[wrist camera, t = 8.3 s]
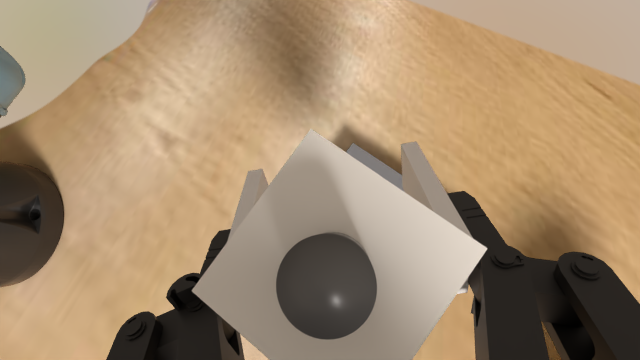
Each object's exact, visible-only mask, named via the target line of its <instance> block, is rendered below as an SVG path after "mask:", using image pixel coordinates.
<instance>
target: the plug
mask: <svg viewBox="0 0 640 360" xmlns="http://www.w3.org/2000/svg"><path fill="white" fill-rule="evenodd" d="M487 249H488V248H486V247H485V246H483V245H482V244H480V243H479V242H477V241H476V240H474V239H473V238H471V237H470V236H468V235H467V234H465V233H464V232H463V231H461V230H460V229H458V228H457V227H455V226H454V225H452V224H451V223H449V222H448V221H446V220H445V219H443V218H442V217H440V216H439V215H437V214H436V213H435V212H433V211H432V210H430V209H429V208H427V207H426V206H424V205H423V204H421V203H420V202H418V201H417V200H415V199H414V198H412V197H411V196H409V195H408V194H407V193H405V192H404V191H402V190H401V189H399V188H398V187H396V186H395V185H393V184H392V183H390V182H389V181H387V180H386V179H384V178H383V177H381V176H380V175H379V174H377V173H376V172H374V171H373V170H371V169H370V168H368V167H367V166H365V165H364V164H362V163H361V162H359V161H358V160H356V159H355V158H353V157H352V156H351V155H349V154H348V153H346V152H345V151H343V150H342V149H340V148H339V147H337V146H336V145H334V144H333V143H331V142H330V141H328V140H327V139H326V138H324V137H323V136H321V135H320V134H318V133H317V132H315V131H314V130H312V129H310V131H309V132H308V133H307V135H306V136H305V137H304V139H303V140H302V141H301V143H300V144H299V146H298V147H297V148H296V150H295V151H294V152H293V154H292V155H291V156H290V158H289V159H288V160H287V162H286V163H285V165H284V166H283V167H282V169H281V170H280V171H279V173H278V174H277V175H276V177H275V178H274V179H273V181H272V182H271V184H270V185H269V186H268V188H267V189H266V190H265V192H264V193H263V194H262V196H261V197H260V198H259V200H258V201H257V203H256V204H255V205H254V207H253V208H252V209H251V211H250V212H249V213H248V215H247V216H246V217H245V219H244V220H243V222H242V223H241V224H240V226H239V227H238V228H237V230H236V231H235V232H234V234H233V235H232V236H231V238H230V239H229V241H228V242H227V243H226V245H225V246H224V247H223V249H222V250H221V251H220V253H219V254H218V255H217V257H216V258H215V260H214V261H213V262H212V264H211V265H210V266H209V268H208V269H207V270H206V272H205V273H204V274H203V276H202V277H201V279H200V280H199V281H198V283H197V284H196V285H195V287H194V288H193V289H192V292H193V293H194V294H195V295H197V296H198V297H199V298H200V299H201V300H202V301H203V302H205V303H206V304H207V305H208V306H209V307H210V308H211V309H213V310H214V311H215V312H216V313H217V314H218V315H219V316H221V317H222V318H223V319H224V320H225V321H226V322H227V323H229V324H230V325H231V326H232V327H233V328H234V329H235V330H237V331H238V332H239V333H240V334H241V335H242V336H243V337H245V338H246V339H247V340H248V341H249V342H250V343H251V344H252V345H254V346H255V347H256V348H257V349H258V350H259V351H260V352H262V353H263V354H264V355H265V356H266V357H267V358H268V359H270V360H412V359H413V357H414V356H415V355H416V353H417V352H418V350H419V349H420V347H421V346H422V344H423V343H424V341H425V340H426V338H427V337H428V335H429V334H430V332H431V331H432V330H433V328H434V327H435V325H436V324H437V322H438V321H439V319H440V318H441V316H442V315H443V313H444V312H445V310H446V309H447V307H448V306H449V305H450V303H451V302H452V300H453V299H454V297H455V296H456V294H457V293H458V291H459V290H460V288H461V287H462V285H463V284H464V282H465V281H466V280H467V278H468V277H469V275H470V274H471V272H472V271H473V269H474V268H475V266H476V265H477V263H478V262H479V260H480V259H481V258H482V256H483V255H484V253H485V252H486V250H487Z"/></svg>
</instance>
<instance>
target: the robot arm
mask: <svg viewBox="0 0 640 360" xmlns="http://www.w3.org/2000/svg"><path fill="white" fill-rule="evenodd" d="M24 84H25V74H24V72H23V70H22V68H21V66H20V65H19V64H18V63H17V61H15V59H14V58H13V57H12V56H11V55H10V54H9V53H8V52H6V51H5V50H4V49H3V48H2V47H1V46H0V117H1V116H5V115H6V114H7V112H8V111H7V108H8V106H9V105H10V104H11V103H12V101H13V100H14V99H15V97H16V96H17V95H18V94H19V92H20V91H21V90H22V88H23V87H24ZM401 160H402V184H403V190H404V192H405V193H407V194H408V195H409V196H411V197H412V198H414V199H415V200H417V201H418V202H420V203H421V204H423V205H424V206H426V207H427V208H429V209H430V210H432V211H433V212H435V213H436V214H437V215H439V216H440V217H442V218H443V219H445V220H446V221H448V222H449V223H451V224H452V225H454V226H455V227H457V228H458V229H460V230H461V231H463V232H464V233H465V234H467V235H468V236H470V237H471V238H473V239H474V240H476V241H477V242H479V243H480V244H482V245H483V246H485V247H486V248H488V249H487V250H486V252H485V253H484V255H483V256H482V258H481V259H480V260H479V262H478V263H477V265H476V266H475V268H474V269H473V271H472V272H471V274H470V275H469V277H468V278H467V280H466V281H465V282H464V284H463V285H462V287H461V288H460V290H459V291H458V293H457V294H459V293H467V291H468V285H470V287H471V289H472V291H473V293H474V299H473V304H472V310H471V313H472V314H474V333H475V354H476V360H549V356H548V352H547V347H546V343H545V338H544V333H543V329H542V324H541V321H543V323H544V325H545V327H546V329H547V331H548V333H549V335H550V337H551V339H552V341H553V343H554V345H555V347H556V349H557V351H558V353H559V355H560V357H561V359H562V360H640V304H639V303H638V301H637V300H636V299H635V298H634V296H633V295H632V294H631V293H630V291H629V290H628V289H627V288H626V286H625V285H624V284H623V283H622V281H621V280H620V279H619V278H618V276H617V275H616V274H615V273H614V271H613V270H612V269H611V268H610V267H609V266H608V265H607V264H606V263H605V262H604V261H602V260H600V259H598V258H596V257H594V256H592V255H589V254H586V253H581V252H569V253H565V254H563V255H562V256H561V257H559V260H558V261H551V260H542V259H534V258H529V257H526V256H524V255H523V254H522V253H521V252H520V251H518V250H516V249H515V248H513V247H511V246H508V245H507V244H506V243H505V242H504V240H503V239H502V237H501V236H500V234H499V233H498V231H497V230H496V228H495V227H494V226H493V224H492V223H491V221H490V220H489V218H488V217H487V216H486V214H485V213H484V211H483V210H482V209H481V207H480V205H479V204H478V202H477V201H476V200H475V198H474V197H472V196H471V195H469V194H468V193H466V192H465V191H461V192H455V193H448V194H447V193H446V191H445V190H444V188H443V186H442V184H441V183H440V181H439V179H438V178H437V176H436V174H435V172H434V171H433V169H432V167H431V166H430V164H429V162H428V160H427V159H426V157H425V155H424V154H423V152H422V150H421V148H420V147H419V145H418V143H417V142H411V143H405V144H401ZM268 186H269V185H268V183H267V180H266V177H265V175H264V172H263V169H259V170H253V171H248V174H247V177H246V181H245V184H244V187H243V191H242V194H241V197H240V201H239V204H238V207H237V211H236V214H235V217H234V221H233V224H232V227H231V229H228V230H222V231H219V232H218V233H217V234H216V236H215V237H214V238H213V239H212V241H211V244H210V247H209V252H207V255H206V260H205V261H204V264H203V267H202V269H201V272H200V274H199V273H190V274H187V275H184V276H183V277H181V278H179V279H178V280H177V281H176V282H175V283H173V284H172V286H171V287H170V289H169V290H168V293H167V296H166V298H167V299H168V301H169V302H170V303H171V304H172V305H173V306H174V308H175V309H173V310H171V311H169V312H166V313H164V314H162V315H159V316H157V317H156V316H155V315H154V314H152V313H150V312H141V313H138V314H136V315H134V316H133V317H131V318H130V319H128V320H127V321H126V322H125V323H124V324H123V325H122V327H121V328H120V330H119V332H118V333H117V335H116V338H115V340H114V342H113V345H112V347H111V350H110V352H109V355H108V357H107V359H106V360H244V354H243V349H242V343H241V337H240V333H239V332H238V331H237V330H235V329H234V328H233V327H232V326H231V325H230V324H229V323H227V322H226V321H225V320H224V319H223V318H222V317H221V316H219V315H218V314H217V313H216V312H215V311H214V310H213V309H211V308H210V307H209V306H208V305H207V304H206V303H205V302H203V301H202V300H201V299H200V298H199V297H198V296H197V295H195V294H194V293H193V292H192V289H193V288H194V287H195V285H196V284H197V283H198V281H199V280H200V279H201V277H202V276H203V274H204V273H205V272H206V270H207V269H208V268H209V266H210V265H211V264H212V262H213V261H214V260H215V258H216V257H217V255H218V254H219V253H220V251H221V250H222V249H223V247H224V246H225V245H226V243H227V242H228V241H229V239H230V238H231V236H232V235H233V234H234V232H235V231H236V230H237V228H238V227H239V226H240V224H241V223H242V222H243V220H244V219H245V217H246V216H247V215H248V213H249V212H250V211H251V209H252V208H253V207H254V205H255V204H256V203H257V201H258V200H259V198H260V197H261V196H262V194H263V193H264V192H265V190H266V189H267V188H268ZM62 226H63V207H62V202H61V198H60V195H59V192H58V190H57V188H56V187H55V185H54V183H53V182H52V181H51V180H50V178H49V177H48V176H46V175H45V174H44V173H43V172H41V171H40V170H38V169H36V168H34V167H31V166H27V165H22V164H16V163H10V162H0V287H4V286H10V285H14V284H17V283H20V282H22V281H24V280H26V279H28V278H30V277H31V276H33V275H34V274H35V273H36V272H38V271H39V270H40V269H41V268H42V267H43V266H44V265H45V264H46V262H47V261H48V260H49V258H50V257H51V255H52V254H53V252H54V250H55V248H56V246H57V244H58V241H59V239H60V235H61V231H62Z"/></svg>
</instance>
